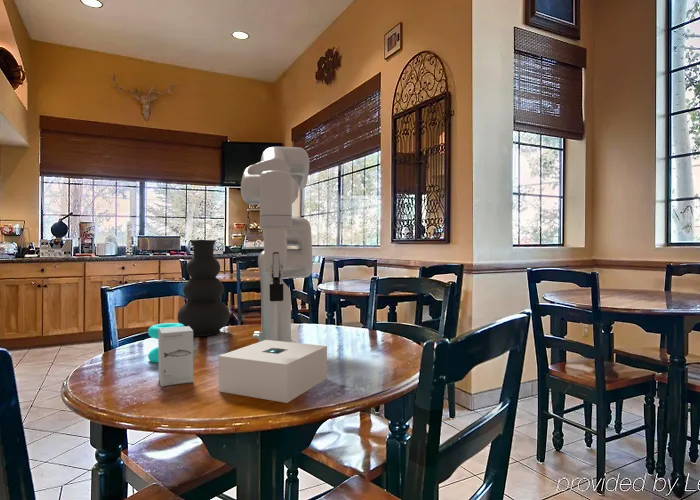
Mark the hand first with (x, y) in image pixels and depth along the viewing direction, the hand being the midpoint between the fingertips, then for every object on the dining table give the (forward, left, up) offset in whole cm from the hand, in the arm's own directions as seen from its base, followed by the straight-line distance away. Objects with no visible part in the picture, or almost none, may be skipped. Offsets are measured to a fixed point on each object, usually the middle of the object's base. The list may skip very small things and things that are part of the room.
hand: (276, 300), depth 104 cm
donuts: (-41, +5, -20) cm, 46 cm away
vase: (-57, +37, -20) cm, 71 cm away
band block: (+1, -2, -20) cm, 20 cm away
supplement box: (-23, -9, -20) cm, 32 cm away
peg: (+1, -2, -20) cm, 20 cm away
